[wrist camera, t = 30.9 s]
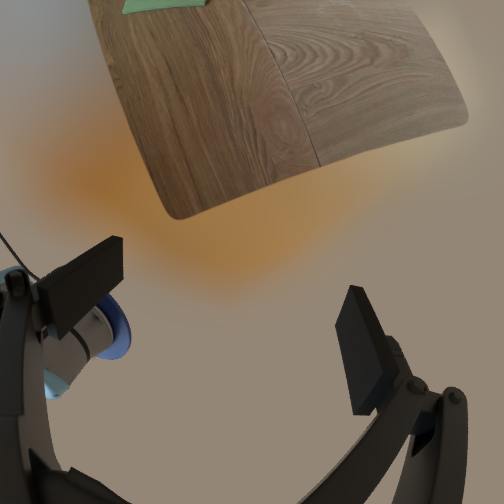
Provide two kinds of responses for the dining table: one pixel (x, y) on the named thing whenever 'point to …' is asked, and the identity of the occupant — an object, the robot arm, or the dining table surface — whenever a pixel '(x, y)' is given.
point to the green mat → (158, 4)
